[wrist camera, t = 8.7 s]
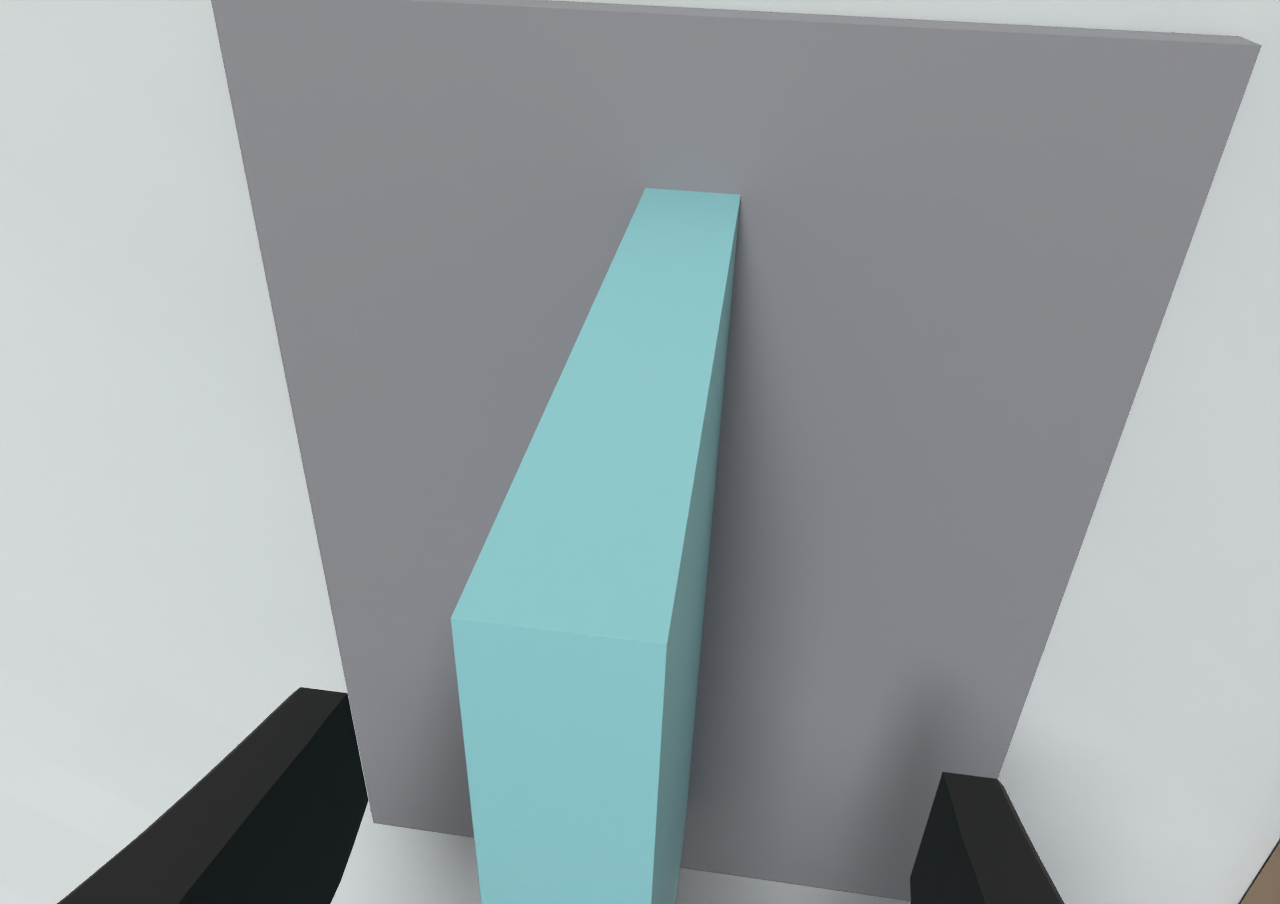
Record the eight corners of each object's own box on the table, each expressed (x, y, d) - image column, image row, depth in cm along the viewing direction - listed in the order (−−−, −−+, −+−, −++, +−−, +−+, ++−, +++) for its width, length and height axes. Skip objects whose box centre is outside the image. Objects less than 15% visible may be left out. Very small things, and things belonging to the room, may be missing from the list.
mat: (946, 879, 19) (950, 906, 19) (384, 799, 20) (373, 823, 20) (1239, 36, 11) (1260, 45, 10) (234, -16, 12) (209, -11, 11)
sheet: (687, 806, 18) (623, 1357, 12) (625, 797, 18) (528, 1338, 12) (740, 194, 12) (666, 643, 5) (645, 187, 12) (451, 617, 5)
